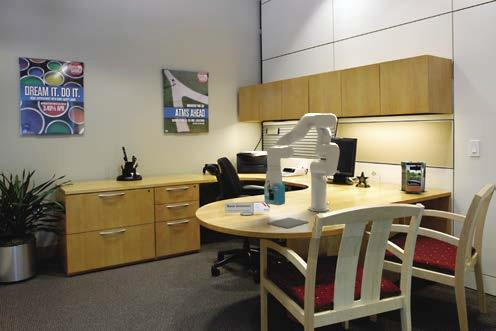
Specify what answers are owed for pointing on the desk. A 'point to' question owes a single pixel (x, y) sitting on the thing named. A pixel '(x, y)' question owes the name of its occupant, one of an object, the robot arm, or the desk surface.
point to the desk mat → (288, 222)
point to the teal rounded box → (275, 195)
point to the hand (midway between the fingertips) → (274, 199)
